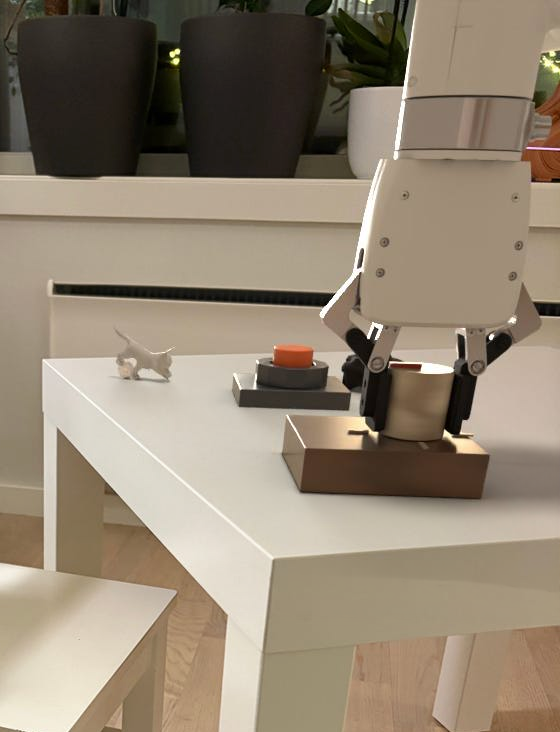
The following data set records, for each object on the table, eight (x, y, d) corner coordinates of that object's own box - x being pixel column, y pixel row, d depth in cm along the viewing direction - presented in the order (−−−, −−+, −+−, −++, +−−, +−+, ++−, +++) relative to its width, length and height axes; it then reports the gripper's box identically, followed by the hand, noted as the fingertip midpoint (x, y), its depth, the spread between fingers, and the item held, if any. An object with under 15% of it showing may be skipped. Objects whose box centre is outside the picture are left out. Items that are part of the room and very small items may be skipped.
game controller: (420, 386, 93) (364, 340, 93) (383, 427, 96) (328, 382, 96) (422, 370, 101) (370, 327, 101) (388, 408, 104) (337, 366, 104)
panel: (445, 459, 74) (452, 417, 72) (486, 498, 65) (495, 452, 63) (281, 453, 74) (286, 412, 73) (299, 491, 65) (305, 445, 64)
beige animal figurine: (145, 406, 99) (181, 365, 97) (88, 351, 99) (123, 309, 96) (153, 400, 102) (188, 360, 99) (98, 347, 102) (132, 305, 99)
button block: (334, 393, 96) (338, 357, 94) (349, 411, 88) (354, 372, 87) (232, 390, 96) (235, 354, 95) (238, 407, 89) (242, 368, 87)
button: (308, 364, 92) (310, 345, 92) (314, 371, 89) (316, 351, 88) (270, 363, 93) (272, 344, 92) (274, 369, 89) (276, 350, 89)
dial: (433, 427, 70) (446, 358, 68) (450, 442, 66) (464, 370, 64) (372, 425, 70) (382, 356, 68) (385, 439, 66) (396, 367, 64)
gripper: (575, 140, 63) (515, 421, 71) (313, 135, 64) (282, 413, 72) (626, 135, 56) (554, 447, 64) (332, 130, 57) (296, 438, 65)
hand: (411, 426), depth 68 cm, fingers closed on dial, 4 cm apart
